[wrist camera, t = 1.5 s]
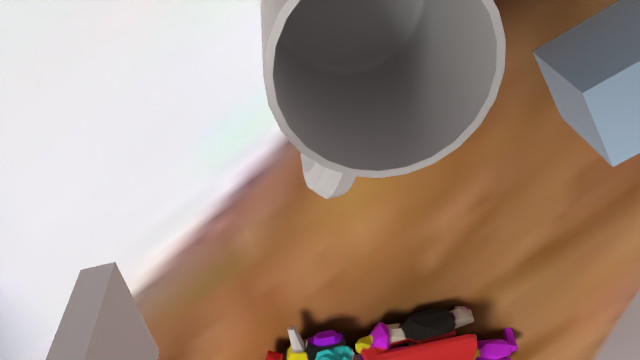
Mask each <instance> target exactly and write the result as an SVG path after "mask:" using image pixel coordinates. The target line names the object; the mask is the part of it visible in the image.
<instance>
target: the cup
mask: <svg viewBox="0 0 640 360" xmlns="http://www.w3.org/2000/svg"><path fill="white" fill-rule="evenodd" d="M261 28H262V53H263V76H264V82H265V88H266V93H267V99H268V104H269V107H270V109H271V111H272V113H273V115H274V117H275V119H276V121H277V123H278V125H279V127H280V129H281V131H282V132H283V134H284V135H285V136H286V137H287V138H288V139H289V140H290V141H291V142H292V144H293V145H294V146H295V147H296V148H297V149H298V150H299V151H300V152H301V160H302V167H303V173H304V178H305V181H306V184H307V187H308V188H310V189H311V190H313V191H314V192H316V193H317V194H319V195H320V196H322V197H324V198H326V199H328V198H332V197H337V196H341V195H343V194H344V193H346V192H347V191H348V190H349V189H350V188H351V186H352V184H353V182H354V180H355V178H356V176H358V177H371V178H382V177H389V176H396V175H402V174H408V173H410V172H413V171H416V170H418V169H421V168H423V167H426V166H428V165H431V164H433V163H435V162H437V161H438V160H440V159H441V158H443V157H444V156H446V155H447V154H449V153H450V152H452V151H453V150H455V149H457V148H458V147H459V146H460V145H461V144H462V143H463V142H464V141H465V140H466V139H467V138H468V137H469V136H470V135H471V134H472V133H473V132H474V131H475V130H476V129H477V128H478V127H479V126H480V124H481V123H482V121H483V119H484V118H485V116H486V114H487V113H488V111H489V109H490V108H491V106H492V104H493V103H494V101H495V99H496V96H497V93H498V90H499V87H500V83H501V80H502V77H503V73H504V70H505V49H506V38H505V34H504V30H503V26H502V22H501V17H500V13H499V10H498V8H497V6H496V5H495V3H494V1H493V0H261Z"/></svg>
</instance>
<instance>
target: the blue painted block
mask: <svg viewBox="0 0 640 360" xmlns="http://www.w3.org/2000/svg"><path fill="white" fill-rule="evenodd" d="M532 52H533V55H534V57H535V59H536V61H537V64H538V66H539V68H540V70H541V72H542V75H543V77H544V79H545V81H546V84H547V86H548V88H549V90H550V93H551V95H552V97H553V99H554V102H555V104H556V106H557V108H558V111H559V113H560V115H561V117H562V118H563V119H564V120H565V121H566V122H567V123H568V124H569V125H570V126H571V127H572V128H573V129H574V130H575V131H576V132H577V133H578V134H579V135H580V136H581V137H582V138H583V139H584V140H585V141H587V142H588V143H589V144H590V145H591V146H592V147H593V148H594V149H595V150H596V151H597V152H598V153H599V154H600V155H601V156H602V157H603V158H604V159H605V160H606V161H607V162H608V163H609V164H610V165H611V166H612V167H614V166H616V165H618V164H620V163H622V162H624V161H625V160H627V159H629V158H631V157H633V156H635V155H637V154H639V153H640V0H618V1H617V2H615V3H613V4H612V5H610V6H608V7H607V8H605V9H603V10H601V11H600V12H598V13H596V14H595V15H593V16H591V17H590V18H588V19H586V20H584V21H583V22H581V23H579V24H578V25H576V26H574V27H573V28H571V29H569V30H567V31H566V32H564V33H562V34H561V35H559V36H557V37H556V38H554V39H552V40H550V41H549V42H547V43H545V44H544V45H542V46H540V47H539V48H537V49H535V50H533V51H532Z"/></svg>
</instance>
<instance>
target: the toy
mask: <svg viewBox="0 0 640 360" xmlns="http://www.w3.org/2000/svg"><path fill="white" fill-rule="evenodd" d="M472 322H474V318H473V315H472V312H471V310H470V309H469V308H467V307H465V306H455V308H454V310H452V311H449V310H446V309H443V308H440V307H435V308H432V309H428V310H425V311H421V312H418V313H414V314H411V315H410V316H409V317H408V319H407V320H406V321H405V323H398V324H390V325H386V324H384V323H382V322H379V323H378V324H377V325H376V326H375V327H374V329H373V330H372V332H371V333H370V335H369V336H366V337H363V338H360V339H359V340H358V341H357V343H356V344H355V352H357V353H358V354H355V353H354V352H353V349H351V348H350V346H345V344H346V343H345V333H336V331H333V330H328V331H323V332H318V333H317V334H316V335H315V336H314V337H310V338H307V340H302V338H301V336H300V334H299V332H298V330H297V329H296V327H295V326H290V327H288V333H289V338H290V342H291V346H290V347H289V348H287V349H286V350H284V351H283V352H281V353H278V352H273V351H268V353H267V357H266V360H511V358H507V357H506V356H509V355H511V353H512V352H513V351H515V350H517V349H518V347H517V344H516V341H515V338H514V335H513V332H512V329H511V328H505V330H504V332H503V337H504V340H502V339H489V340H480V341H477V338H476V334H466V335H461V336H456V337H452V336H454V335H455V329H456V328H458V327H461V326H464V325H466V324H469V323H472ZM449 337H451V338H449ZM409 342H410V343H409Z"/></svg>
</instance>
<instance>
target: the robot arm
mask: <svg viewBox="0 0 640 360" xmlns="http://www.w3.org/2000/svg"><path fill="white" fill-rule="evenodd" d="M158 355H159V349H158V347H157V345H156V343H155V341H154V339H153V337H152V335H151V333H150V331H149V329H148V327H147V325H146V323H145V321H144V319H143V317H142V315H141V313H140V311H139V309H138V307H137V305H136V303H135V301H134V299H133V297H132V295H131V293H130V291H129V289H128V287H127V285H126V283H125V281H124V279H123V277H122V275H121V273H120V271H119V269H118V267H117V265H116V263H115V262H114V263H109V264H105V265H101V266H96V267H92V268H88V269H83V270H81V271H80V273H79V276H78V279H77V281H76V284H75V286H74V289H73V291H72V294H71V296H70V299H69V302H68V304H67V307H66V309H65V312H64V314H63V317H62V319H61V322H60V325H59V327H58V330H57V332H56V335H55V337H54V340H53V342H52V345H51V348H50V350H49V353H48V355H47V358H46V360H158Z"/></svg>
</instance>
